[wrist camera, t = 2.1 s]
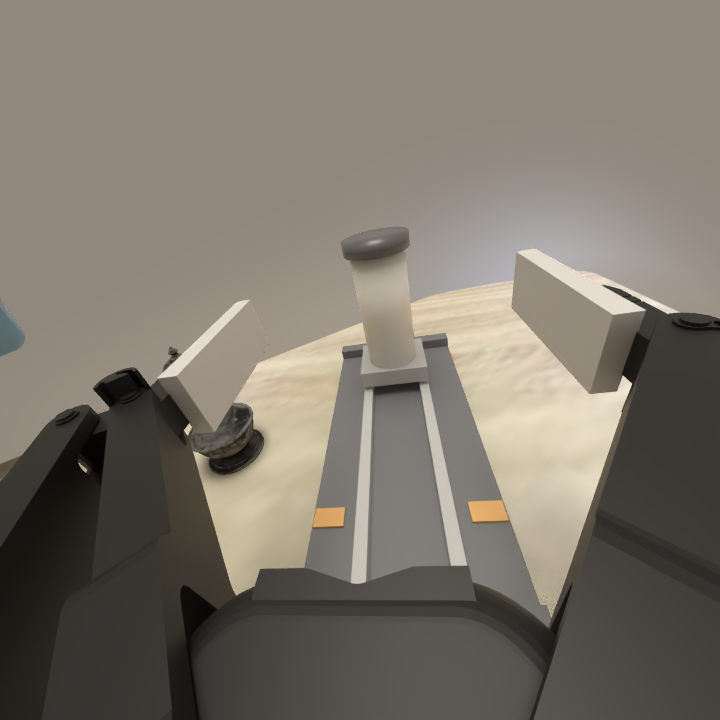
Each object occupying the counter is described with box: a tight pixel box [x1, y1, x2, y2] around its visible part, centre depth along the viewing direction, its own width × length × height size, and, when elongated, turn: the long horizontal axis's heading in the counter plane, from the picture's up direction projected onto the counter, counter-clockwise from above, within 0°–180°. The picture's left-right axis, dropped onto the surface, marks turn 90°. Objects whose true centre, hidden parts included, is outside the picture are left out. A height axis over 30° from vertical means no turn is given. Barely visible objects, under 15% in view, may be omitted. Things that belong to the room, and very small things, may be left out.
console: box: [305, 333, 551, 627], centre depth 24 cm, size 12×26×3 cm, turn 177°
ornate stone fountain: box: [163, 347, 264, 475], centre depth 25 cm, size 6×6×12 cm
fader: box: [341, 227, 428, 388], centre depth 26 cm, size 6×5×13 cm
